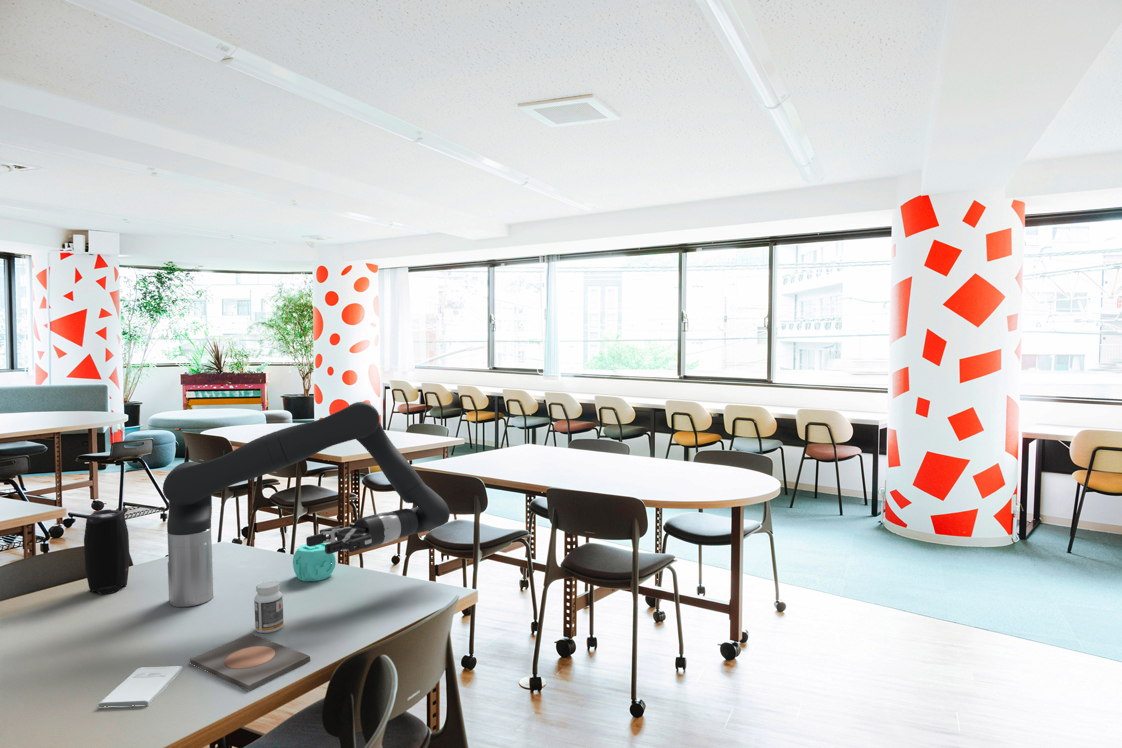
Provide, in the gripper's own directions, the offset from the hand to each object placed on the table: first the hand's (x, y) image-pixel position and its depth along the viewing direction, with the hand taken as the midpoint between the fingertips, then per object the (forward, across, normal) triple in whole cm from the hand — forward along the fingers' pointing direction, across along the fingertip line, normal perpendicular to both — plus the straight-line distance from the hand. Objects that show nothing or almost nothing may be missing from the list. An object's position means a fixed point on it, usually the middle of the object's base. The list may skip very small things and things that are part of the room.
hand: (316, 545), depth 153 cm
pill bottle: (+11, 0, +16) cm, 19 cm away
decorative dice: (-11, -22, +16) cm, 30 cm away
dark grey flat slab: (+21, +12, +16) cm, 29 cm away
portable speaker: (+28, -53, +15) cm, 62 cm away
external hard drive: (+38, +7, +16) cm, 42 cm away
